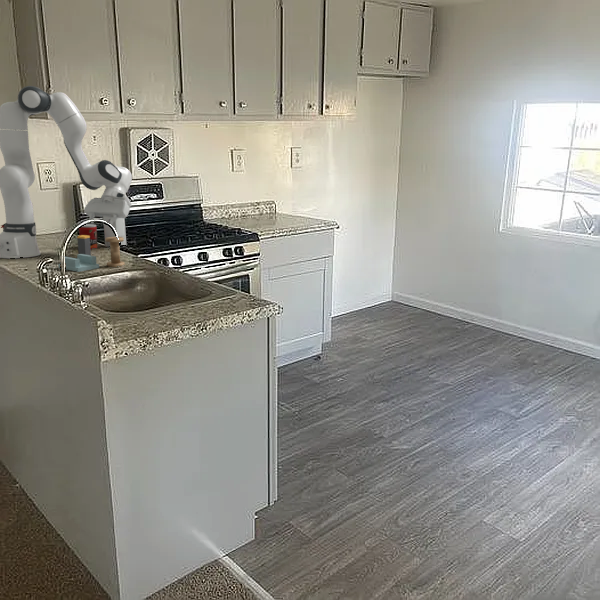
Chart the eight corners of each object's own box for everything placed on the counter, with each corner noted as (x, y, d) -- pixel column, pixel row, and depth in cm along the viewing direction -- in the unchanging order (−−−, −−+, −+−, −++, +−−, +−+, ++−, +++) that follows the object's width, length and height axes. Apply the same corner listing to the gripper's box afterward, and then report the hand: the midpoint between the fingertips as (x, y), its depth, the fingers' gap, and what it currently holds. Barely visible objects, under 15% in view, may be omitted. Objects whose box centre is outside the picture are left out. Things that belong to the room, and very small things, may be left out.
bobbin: (104, 267, 248) (102, 238, 245) (110, 263, 254) (108, 236, 252) (121, 267, 247) (120, 239, 245) (127, 264, 254) (125, 237, 251)
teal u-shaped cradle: (58, 267, 244) (57, 256, 242) (79, 264, 252) (78, 253, 251) (78, 271, 237) (77, 260, 236) (99, 267, 246) (98, 256, 244)
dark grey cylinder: (78, 261, 257) (77, 236, 254) (84, 260, 260) (82, 235, 258) (86, 262, 256) (84, 236, 253) (91, 261, 259) (89, 235, 257)
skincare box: (126, 246, 299) (125, 214, 295) (117, 247, 293) (115, 215, 290) (114, 244, 303) (112, 212, 299) (104, 246, 297) (102, 213, 293)
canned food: (92, 249, 286) (91, 226, 284) (76, 248, 288) (75, 225, 285) (100, 247, 294) (99, 224, 291) (85, 246, 295) (84, 223, 292)
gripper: (88, 192, 273) (76, 217, 266) (128, 195, 267) (116, 219, 260) (95, 202, 278) (83, 226, 271) (134, 204, 272) (123, 229, 265)
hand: (100, 223), depth 265 cm, fingers open, 8 cm apart
